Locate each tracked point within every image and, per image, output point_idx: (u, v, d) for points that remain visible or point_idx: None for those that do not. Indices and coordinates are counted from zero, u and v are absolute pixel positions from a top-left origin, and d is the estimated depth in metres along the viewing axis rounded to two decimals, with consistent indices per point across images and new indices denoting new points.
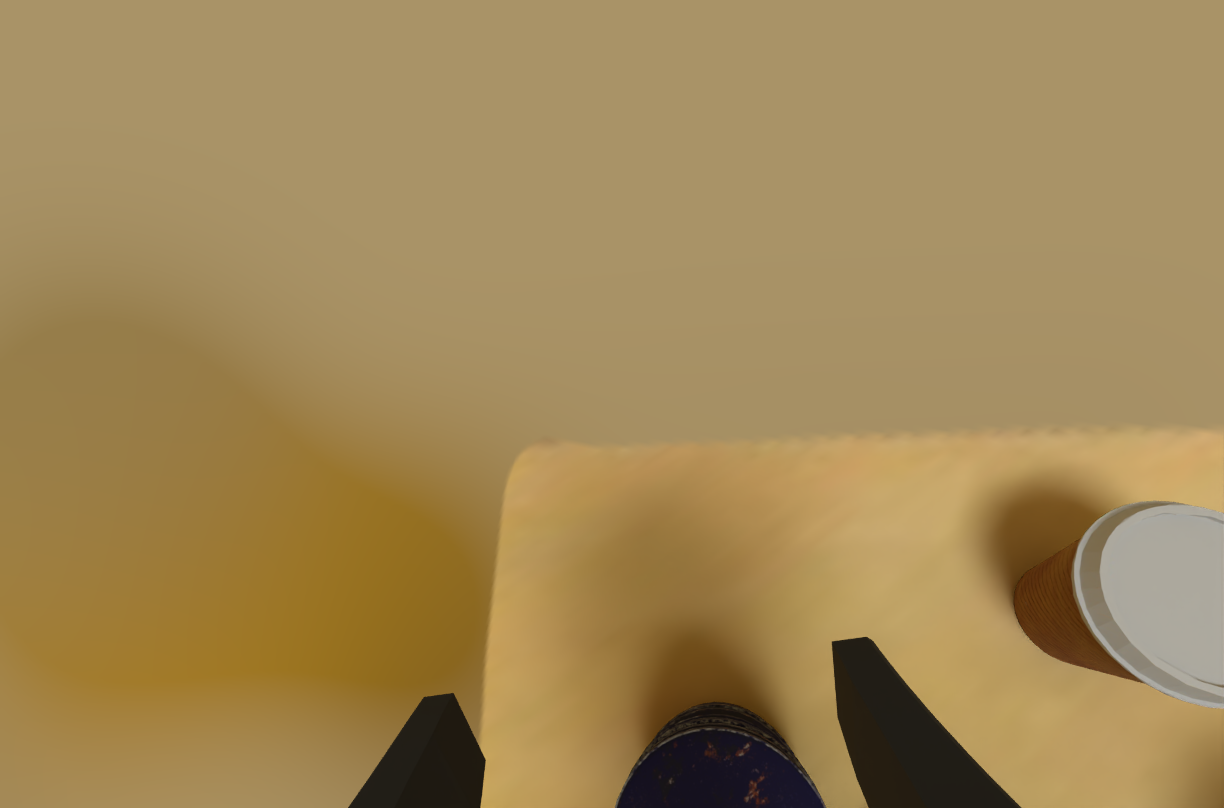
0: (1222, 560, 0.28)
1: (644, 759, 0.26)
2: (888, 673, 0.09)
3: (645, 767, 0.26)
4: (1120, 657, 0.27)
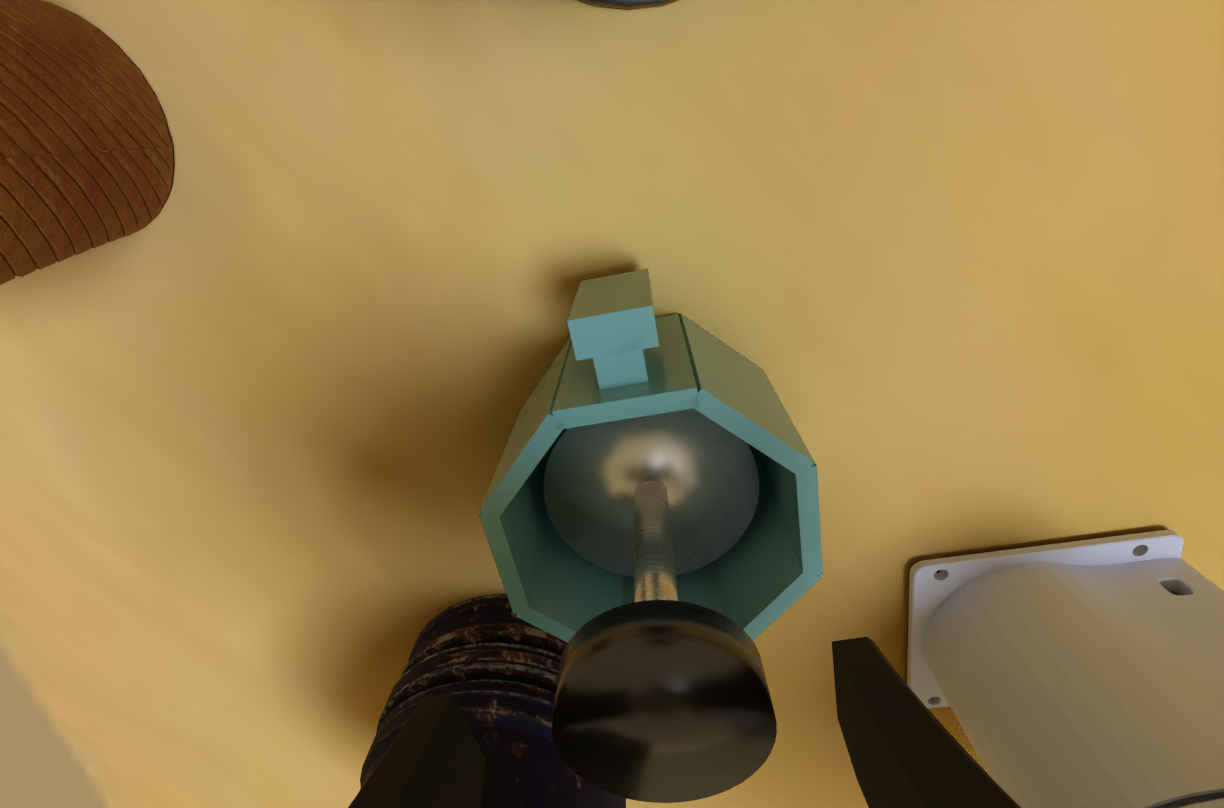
0: None
1: None
2: (888, 673, 0.09)
3: None
4: None
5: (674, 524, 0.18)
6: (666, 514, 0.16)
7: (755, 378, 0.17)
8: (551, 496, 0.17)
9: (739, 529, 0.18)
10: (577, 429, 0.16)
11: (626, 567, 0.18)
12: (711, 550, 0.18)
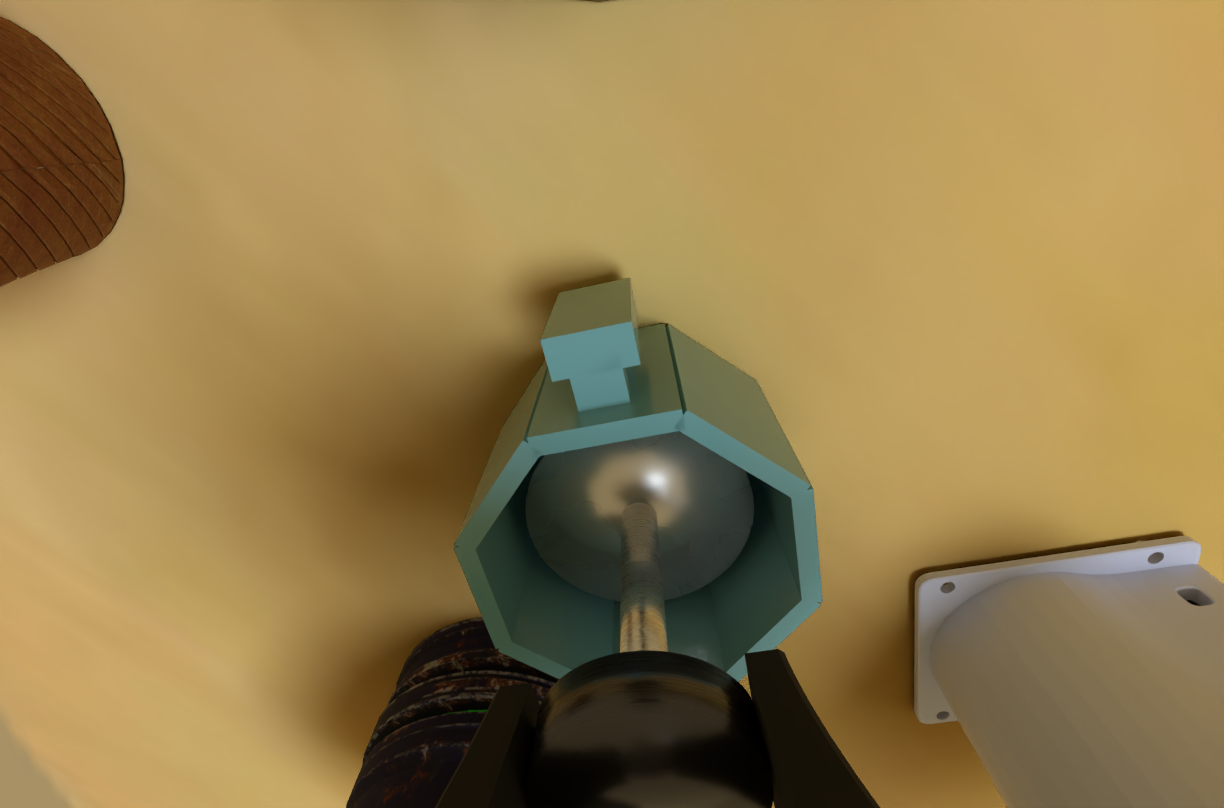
0: None
1: None
2: (789, 686, 0.09)
3: None
4: None
5: (665, 547, 0.17)
6: (655, 540, 0.15)
7: (747, 391, 0.17)
8: (534, 521, 0.16)
9: (734, 550, 0.17)
10: None
11: (616, 592, 0.17)
12: (704, 573, 0.17)
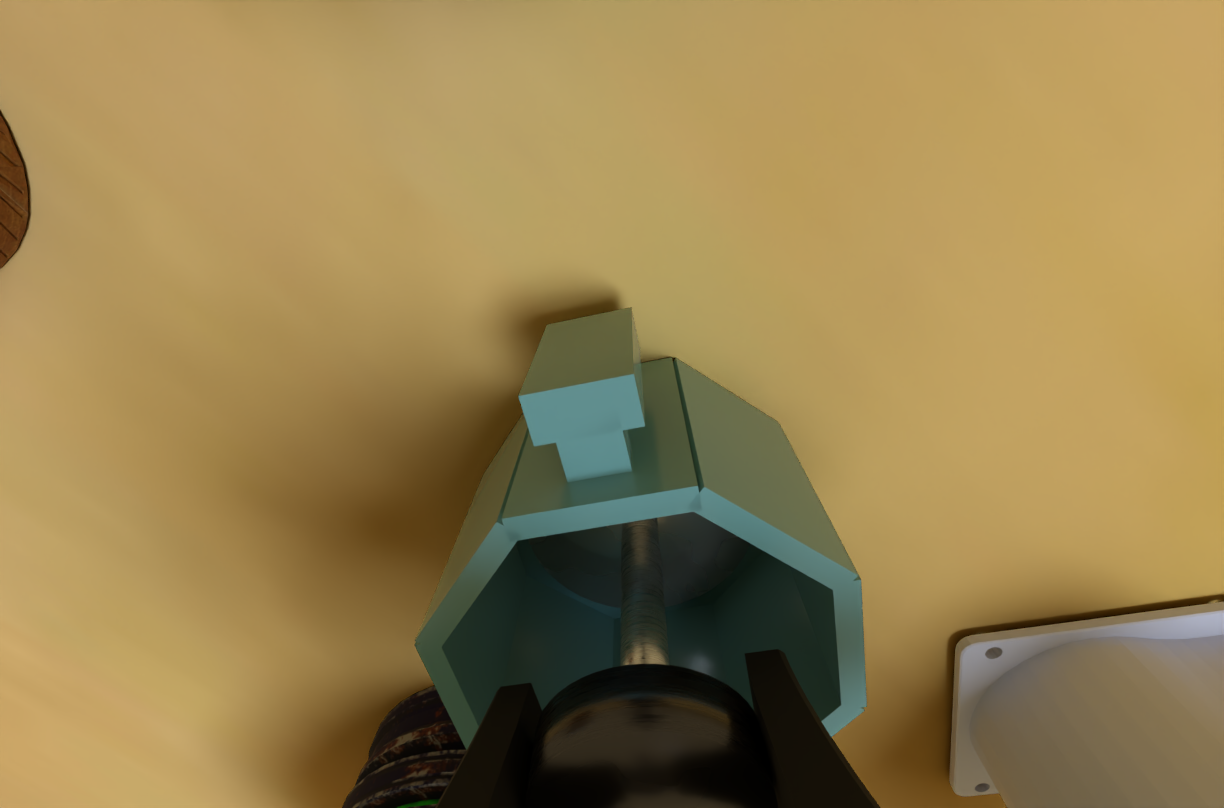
0: None
1: None
2: (789, 686, 0.09)
3: None
4: None
5: (666, 553, 0.16)
6: (655, 547, 0.15)
7: (770, 440, 0.14)
8: None
9: (736, 557, 0.17)
10: None
11: (616, 599, 0.17)
12: (706, 580, 0.17)
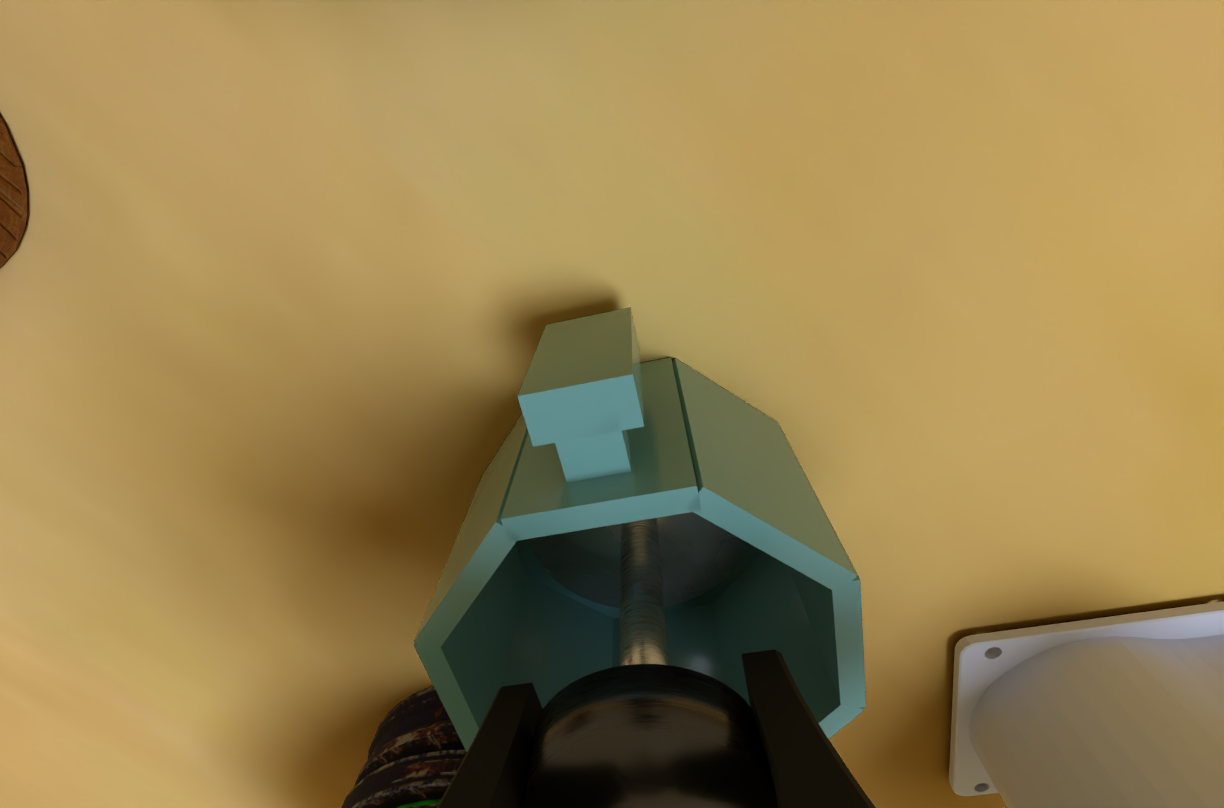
0: None
1: None
2: (786, 686, 0.09)
3: None
4: None
5: (665, 553, 0.16)
6: (655, 547, 0.15)
7: (770, 440, 0.14)
8: None
9: (735, 557, 0.17)
10: None
11: (616, 599, 0.17)
12: (705, 580, 0.17)
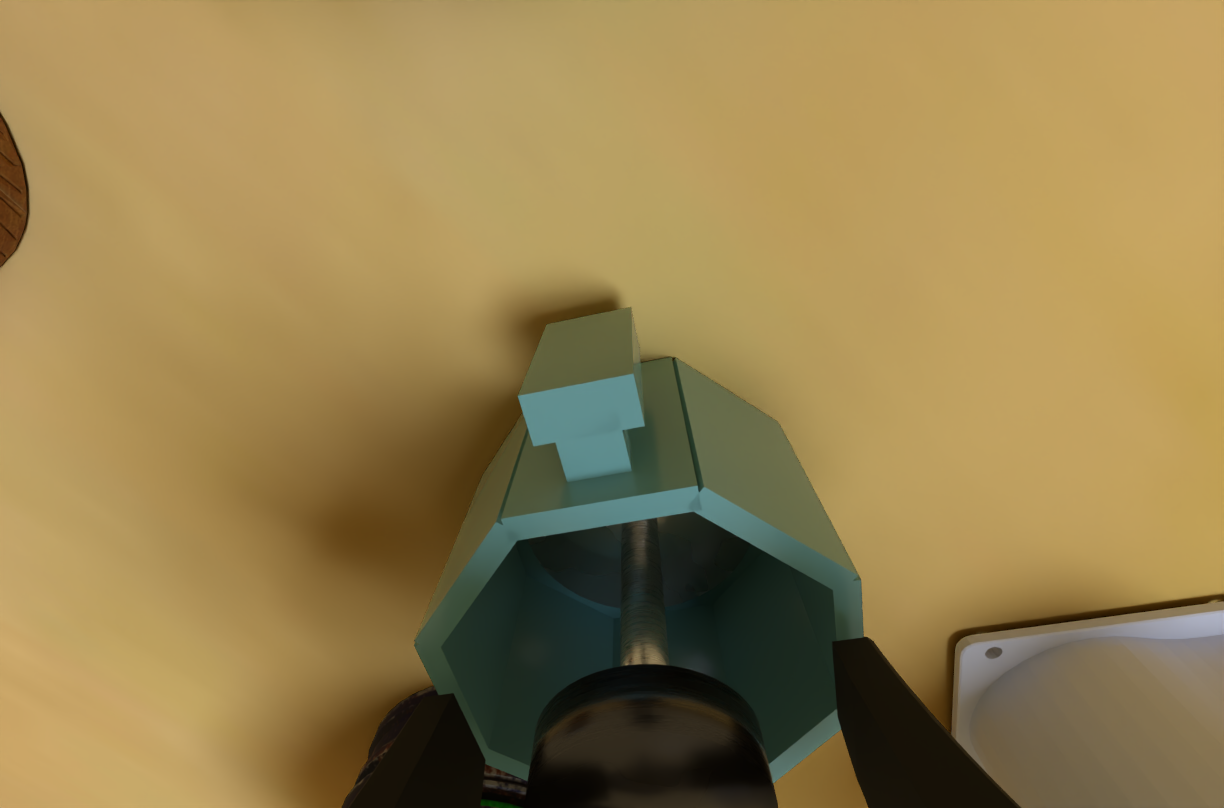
0: None
1: None
2: (888, 673, 0.09)
3: None
4: None
5: (666, 553, 0.16)
6: (655, 547, 0.15)
7: (770, 440, 0.14)
8: None
9: (736, 557, 0.16)
10: None
11: (616, 599, 0.17)
12: (706, 579, 0.17)
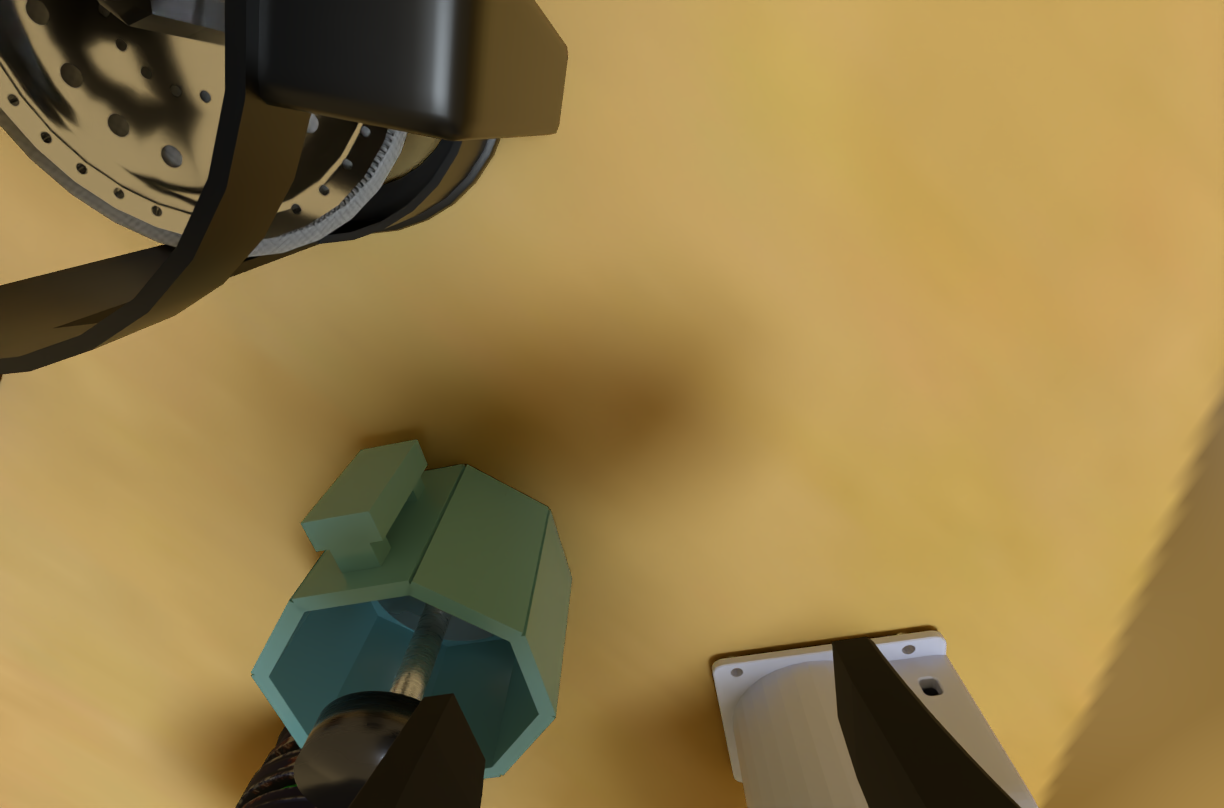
0: None
1: None
2: (888, 673, 0.09)
3: None
4: None
5: None
6: None
7: (522, 528, 0.20)
8: None
9: None
10: None
11: None
12: None
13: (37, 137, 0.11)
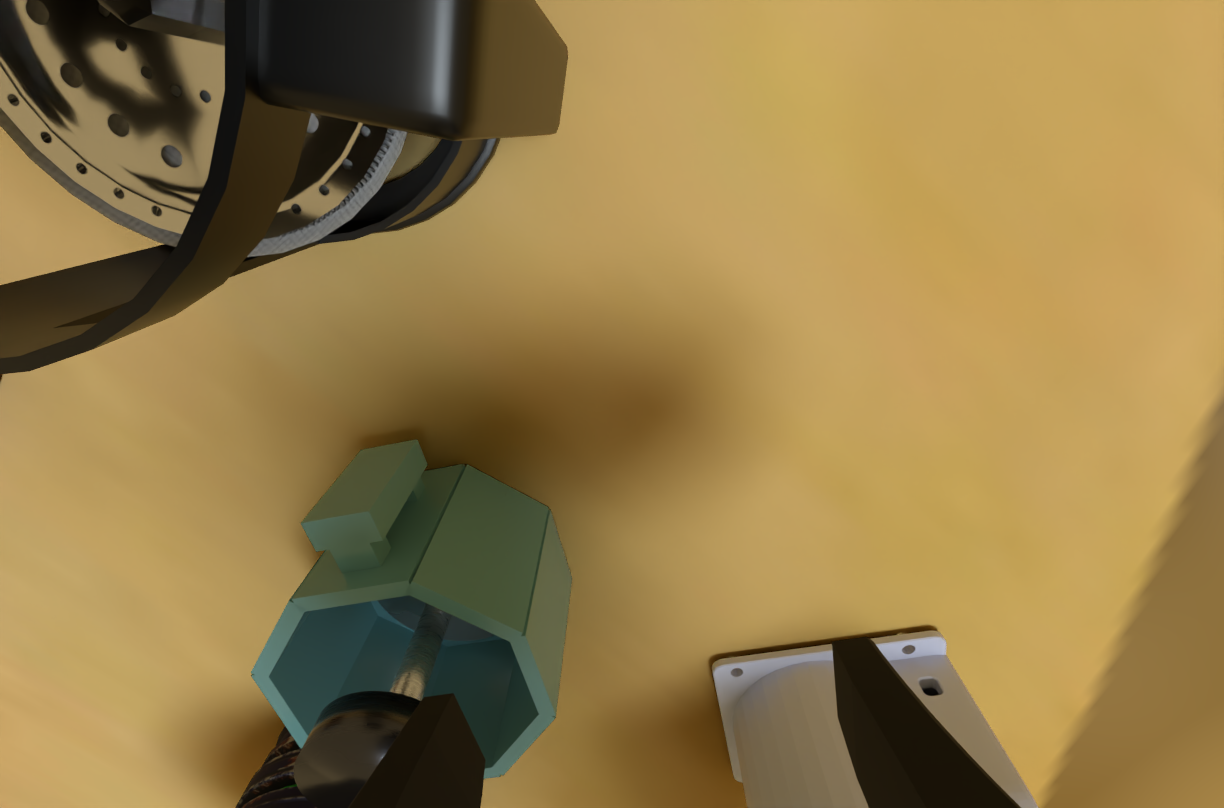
0: None
1: None
2: (888, 673, 0.09)
3: None
4: None
5: None
6: None
7: (522, 528, 0.20)
8: None
9: None
10: None
11: None
12: None
13: (37, 137, 0.11)
